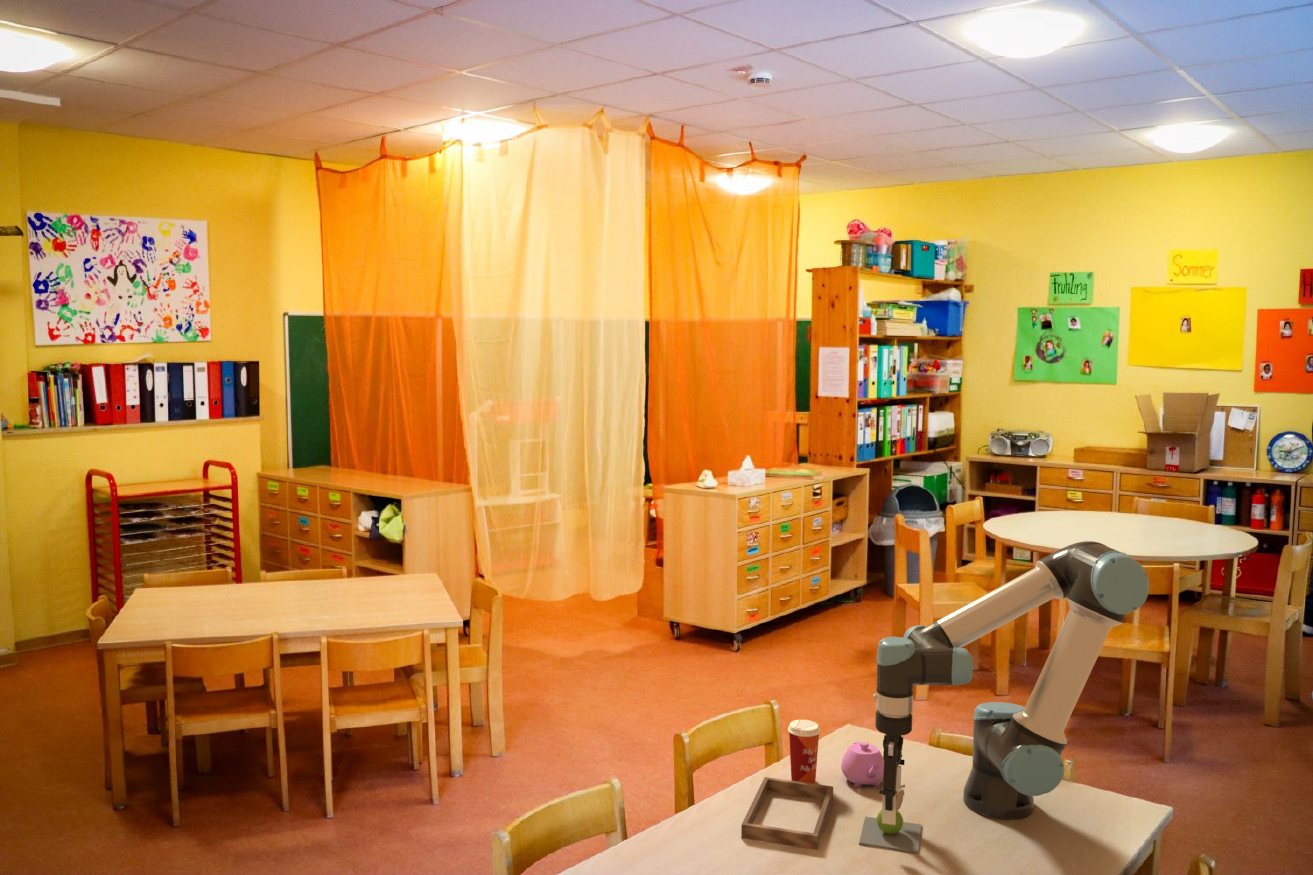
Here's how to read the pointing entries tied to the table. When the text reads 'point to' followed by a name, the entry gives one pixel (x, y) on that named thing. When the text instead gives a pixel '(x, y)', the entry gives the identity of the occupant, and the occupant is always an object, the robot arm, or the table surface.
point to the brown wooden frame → (787, 835)
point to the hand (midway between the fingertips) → (891, 808)
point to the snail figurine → (899, 820)
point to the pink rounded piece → (863, 764)
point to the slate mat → (891, 836)
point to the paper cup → (803, 750)
